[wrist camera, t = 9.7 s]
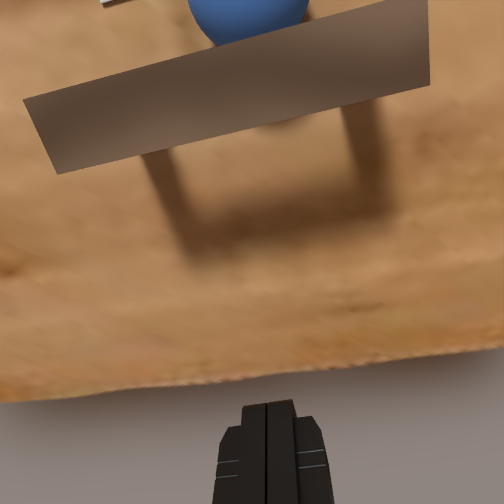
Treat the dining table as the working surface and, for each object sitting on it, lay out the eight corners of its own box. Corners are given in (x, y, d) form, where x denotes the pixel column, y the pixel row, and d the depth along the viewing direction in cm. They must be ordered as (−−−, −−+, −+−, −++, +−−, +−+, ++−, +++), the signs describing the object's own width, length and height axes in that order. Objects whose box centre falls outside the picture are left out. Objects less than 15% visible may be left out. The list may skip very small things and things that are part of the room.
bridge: (368, 74, 23) (430, 85, 14) (131, 133, 25) (57, 174, 16) (363, 16, 21) (427, -11, 13) (112, 83, 24) (22, 99, 15)
